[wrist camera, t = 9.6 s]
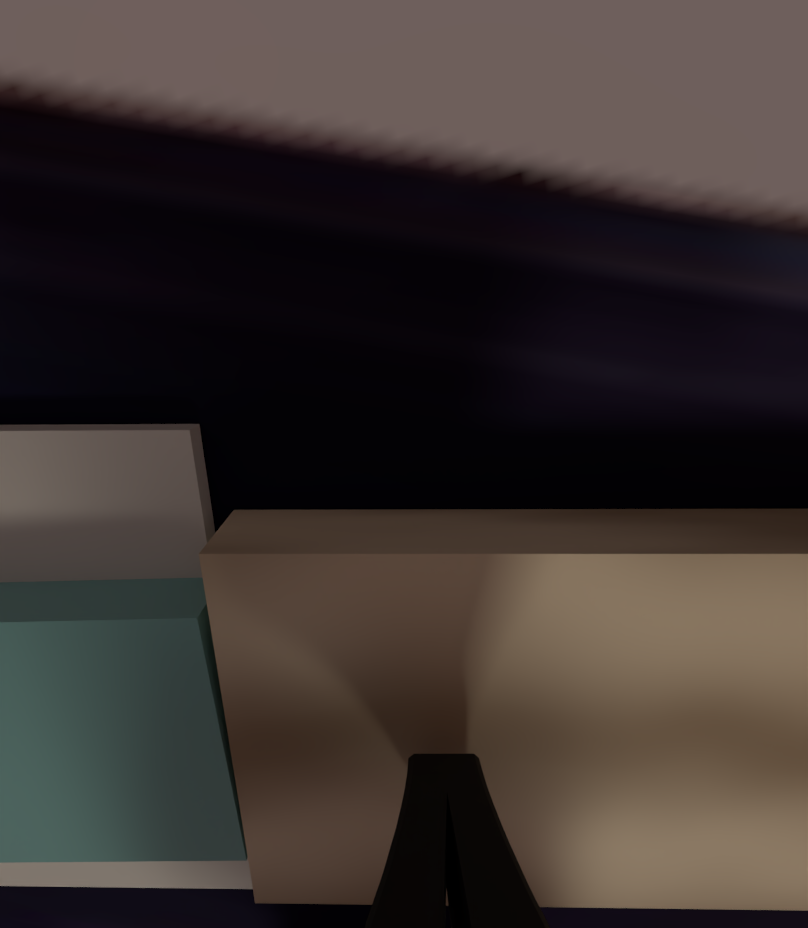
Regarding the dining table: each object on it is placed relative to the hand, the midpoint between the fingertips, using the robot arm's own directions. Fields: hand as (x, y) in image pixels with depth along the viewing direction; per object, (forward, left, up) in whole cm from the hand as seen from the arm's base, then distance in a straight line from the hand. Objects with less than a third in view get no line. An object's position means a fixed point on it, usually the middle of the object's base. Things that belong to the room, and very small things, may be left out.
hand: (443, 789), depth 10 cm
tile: (0, +8, -2) cm, 9 cm away
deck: (0, -3, -3) cm, 4 cm away
